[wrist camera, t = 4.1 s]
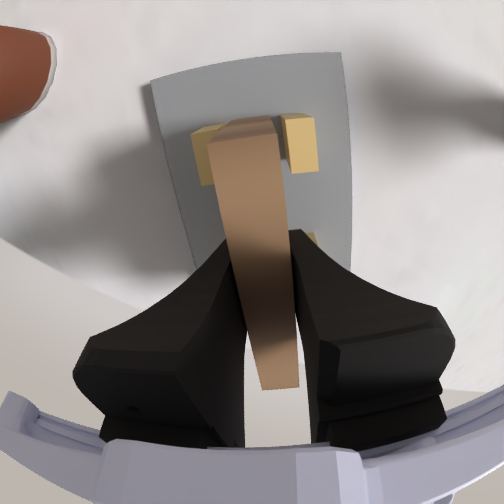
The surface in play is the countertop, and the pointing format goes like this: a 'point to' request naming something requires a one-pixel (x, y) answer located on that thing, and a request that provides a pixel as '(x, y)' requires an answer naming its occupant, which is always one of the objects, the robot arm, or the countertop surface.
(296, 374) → the door panel
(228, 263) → the robot arm
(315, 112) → the hinge board
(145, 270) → the countertop surface
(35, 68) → the coffee cup
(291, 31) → the countertop surface
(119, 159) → the countertop surface
